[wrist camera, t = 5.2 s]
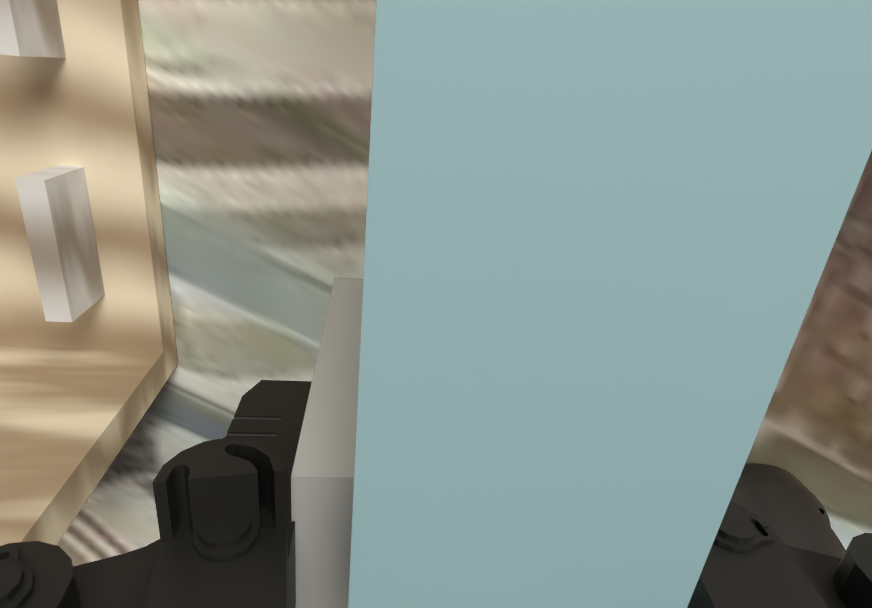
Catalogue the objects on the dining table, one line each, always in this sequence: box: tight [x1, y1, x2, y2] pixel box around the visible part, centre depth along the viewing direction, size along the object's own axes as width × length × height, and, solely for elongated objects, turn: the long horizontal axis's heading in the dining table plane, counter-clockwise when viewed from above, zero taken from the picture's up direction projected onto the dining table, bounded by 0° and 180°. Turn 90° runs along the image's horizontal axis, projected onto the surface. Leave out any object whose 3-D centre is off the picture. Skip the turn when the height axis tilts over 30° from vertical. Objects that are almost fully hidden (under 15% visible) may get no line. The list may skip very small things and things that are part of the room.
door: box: [348, 0, 872, 608], centre depth 12 cm, size 20×3×14 cm, turn 174°
